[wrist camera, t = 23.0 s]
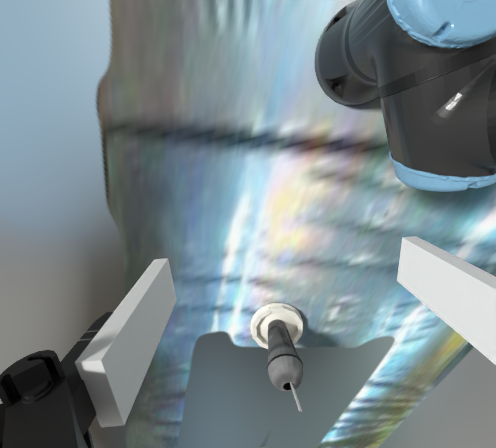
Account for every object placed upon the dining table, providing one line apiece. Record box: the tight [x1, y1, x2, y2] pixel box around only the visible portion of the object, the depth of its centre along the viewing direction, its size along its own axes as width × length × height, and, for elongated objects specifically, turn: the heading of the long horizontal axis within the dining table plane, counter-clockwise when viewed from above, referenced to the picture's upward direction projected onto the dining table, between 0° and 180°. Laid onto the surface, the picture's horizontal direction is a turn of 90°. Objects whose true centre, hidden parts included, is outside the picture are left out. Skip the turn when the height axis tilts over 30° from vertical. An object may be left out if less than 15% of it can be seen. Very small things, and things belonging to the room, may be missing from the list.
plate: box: [250, 302, 303, 349], centre depth 58 cm, size 13×13×2 cm
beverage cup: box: [267, 319, 303, 412], centre depth 49 cm, size 7×7×20 cm
